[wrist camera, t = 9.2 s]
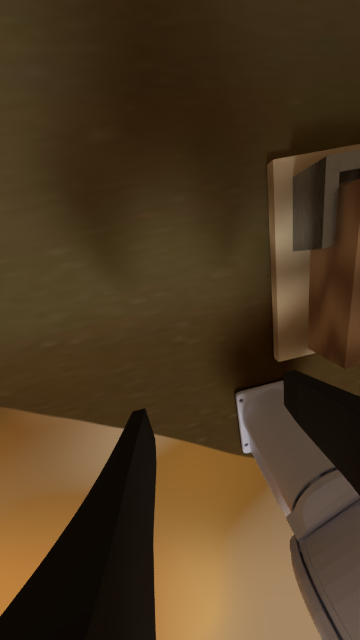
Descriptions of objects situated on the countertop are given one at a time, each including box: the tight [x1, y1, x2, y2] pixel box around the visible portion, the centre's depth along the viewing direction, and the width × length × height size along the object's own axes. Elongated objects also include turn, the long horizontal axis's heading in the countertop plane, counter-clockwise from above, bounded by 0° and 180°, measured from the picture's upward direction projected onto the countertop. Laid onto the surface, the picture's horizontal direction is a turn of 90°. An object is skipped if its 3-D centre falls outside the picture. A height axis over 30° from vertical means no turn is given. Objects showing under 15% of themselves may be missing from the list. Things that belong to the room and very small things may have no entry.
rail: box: [308, 179, 360, 369], centre depth 15 cm, size 14×3×4 cm, turn 11°
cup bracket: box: [293, 150, 360, 251], centre depth 14 cm, size 6×7×3 cm
